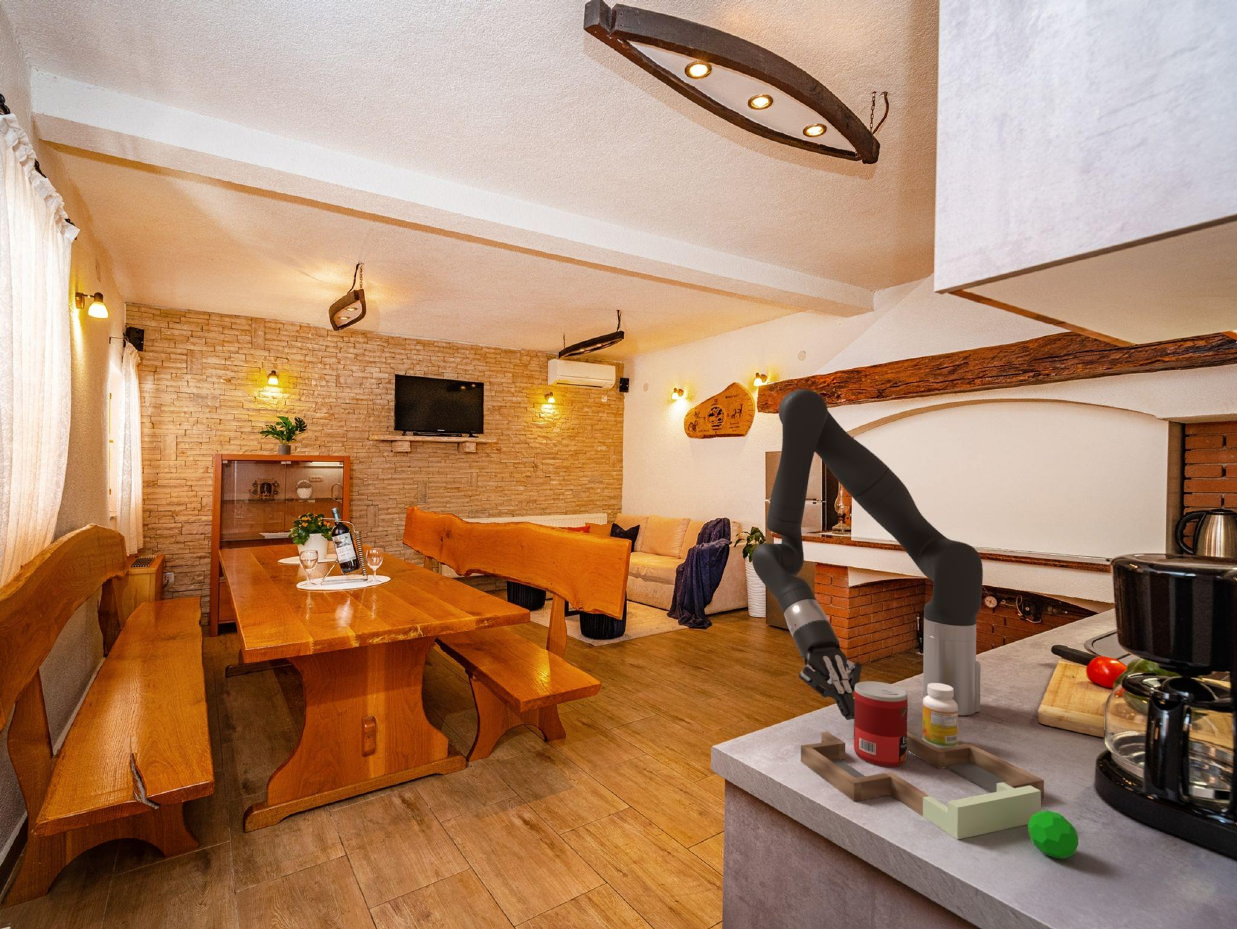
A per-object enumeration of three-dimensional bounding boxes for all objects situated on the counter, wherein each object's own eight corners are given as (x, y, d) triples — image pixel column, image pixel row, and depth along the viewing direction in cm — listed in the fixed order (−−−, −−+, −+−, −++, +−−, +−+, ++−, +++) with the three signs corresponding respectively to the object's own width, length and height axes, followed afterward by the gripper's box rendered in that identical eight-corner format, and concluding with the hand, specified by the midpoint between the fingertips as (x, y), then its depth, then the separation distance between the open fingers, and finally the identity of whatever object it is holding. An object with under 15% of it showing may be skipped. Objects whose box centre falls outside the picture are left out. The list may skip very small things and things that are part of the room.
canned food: (912, 770, 95) (913, 699, 95) (858, 764, 97) (859, 694, 97) (900, 749, 102) (900, 683, 103) (849, 744, 104) (850, 679, 104)
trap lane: (788, 752, 100) (788, 737, 100) (919, 733, 109) (919, 719, 109) (891, 829, 79) (891, 809, 79) (1043, 797, 87) (1043, 780, 88)
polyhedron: (1068, 872, 71) (1069, 830, 71) (1021, 850, 75) (1021, 811, 75) (1084, 856, 74) (1084, 817, 74) (1037, 837, 78) (1037, 799, 78)
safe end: (922, 816, 82) (923, 786, 82) (1002, 800, 87) (1003, 771, 87) (957, 839, 77) (957, 807, 77) (1040, 821, 81) (1040, 790, 81)
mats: (813, 764, 96) (813, 762, 96) (934, 745, 104) (934, 743, 104) (891, 821, 81) (891, 819, 81) (1027, 794, 88) (1027, 792, 88)
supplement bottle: (924, 734, 109) (924, 679, 109) (958, 741, 106) (959, 685, 106) (920, 745, 104) (921, 687, 104) (956, 753, 101) (957, 694, 101)
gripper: (789, 620, 113) (831, 711, 101) (848, 616, 117) (895, 703, 105) (772, 641, 118) (811, 731, 106) (830, 637, 122) (873, 722, 110)
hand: (853, 717), depth 106 cm, fingers closed
